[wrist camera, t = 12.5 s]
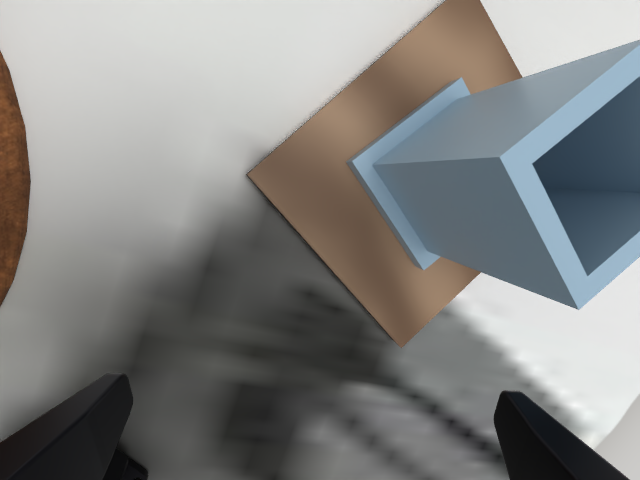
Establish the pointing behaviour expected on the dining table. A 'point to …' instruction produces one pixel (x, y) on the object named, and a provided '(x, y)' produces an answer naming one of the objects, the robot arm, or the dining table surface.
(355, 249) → the locating plate
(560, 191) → the light blue square holder
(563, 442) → the robot arm
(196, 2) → the dining table surface
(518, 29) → the dining table surface
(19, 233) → the cutting board
